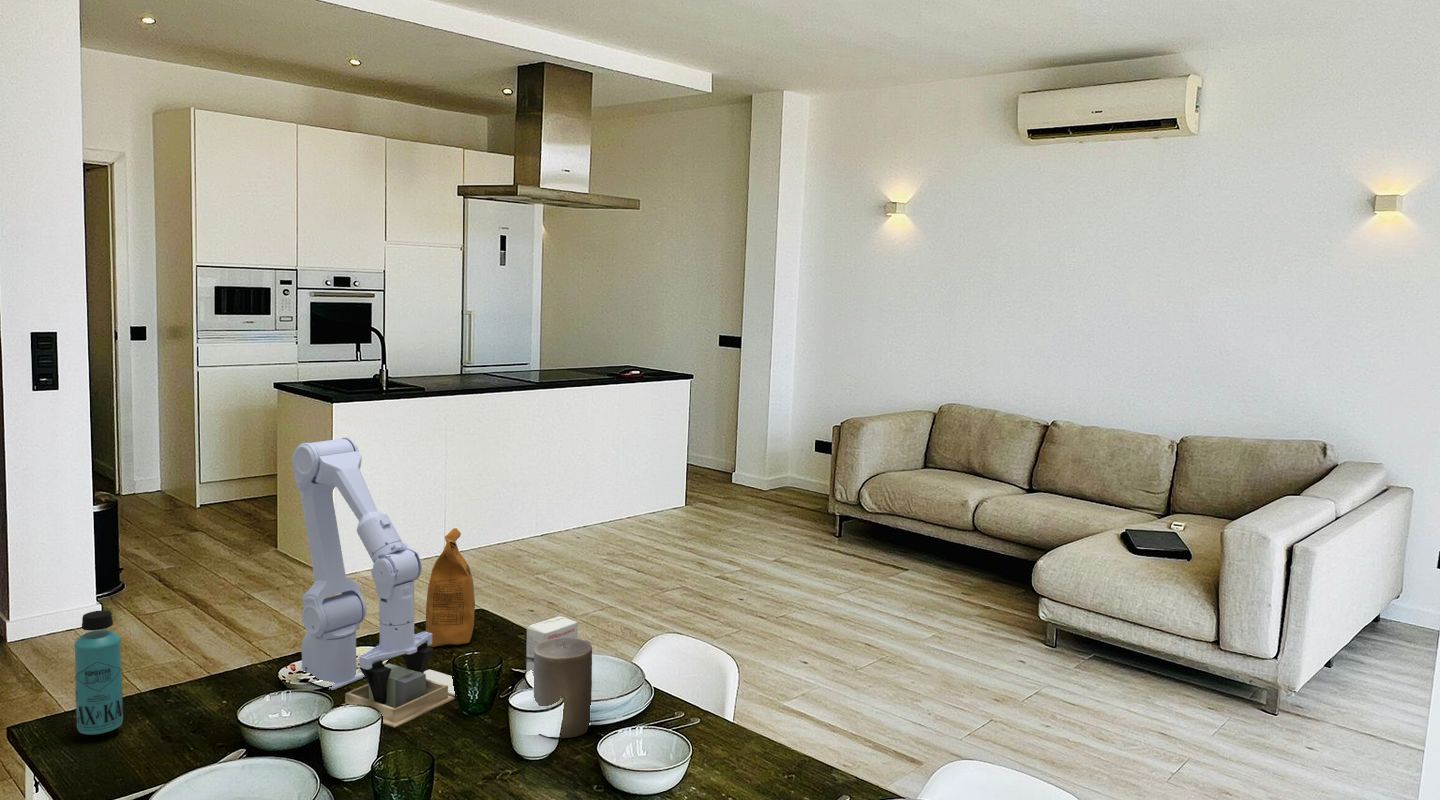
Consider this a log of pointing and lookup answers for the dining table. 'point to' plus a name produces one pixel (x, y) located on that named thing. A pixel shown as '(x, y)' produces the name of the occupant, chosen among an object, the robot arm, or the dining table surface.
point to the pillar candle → (565, 681)
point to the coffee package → (450, 597)
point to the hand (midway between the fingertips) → (397, 695)
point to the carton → (408, 711)
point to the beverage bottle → (98, 676)
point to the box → (403, 686)
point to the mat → (441, 679)
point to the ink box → (548, 635)
